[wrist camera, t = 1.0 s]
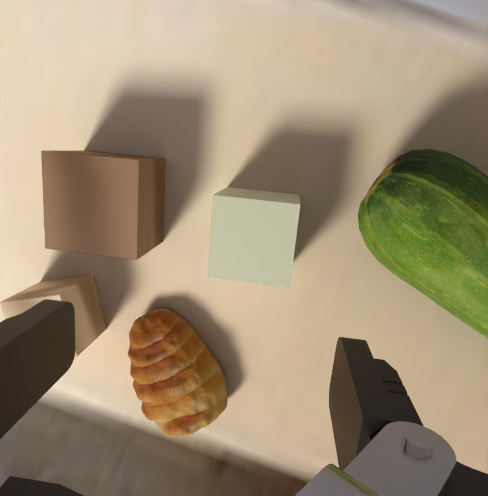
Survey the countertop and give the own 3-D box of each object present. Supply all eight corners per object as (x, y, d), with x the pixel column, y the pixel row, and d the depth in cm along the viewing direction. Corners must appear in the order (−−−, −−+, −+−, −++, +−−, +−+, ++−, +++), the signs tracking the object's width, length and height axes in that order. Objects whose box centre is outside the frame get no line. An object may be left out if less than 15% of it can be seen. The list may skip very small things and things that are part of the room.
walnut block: (166, 158, 28) (138, 160, 23) (162, 241, 29) (136, 259, 24) (84, 150, 28) (41, 150, 23) (85, 232, 30) (45, 248, 25)
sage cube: (299, 194, 27) (300, 204, 22) (290, 264, 28) (289, 287, 23) (227, 186, 27) (213, 195, 23) (222, 255, 29) (207, 277, 24)
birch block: (93, 274, 30) (59, 295, 26) (107, 327, 31) (77, 356, 27) (41, 281, 31) (0, 302, 27) (56, 333, 32) (19, 362, 28)
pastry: (115, 320, 31) (92, 343, 28) (192, 292, 30) (177, 313, 26) (165, 419, 33) (149, 453, 29) (239, 397, 32) (232, 429, 28)
